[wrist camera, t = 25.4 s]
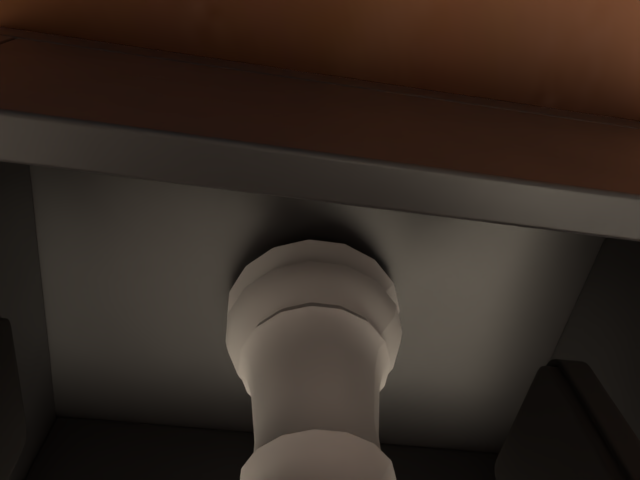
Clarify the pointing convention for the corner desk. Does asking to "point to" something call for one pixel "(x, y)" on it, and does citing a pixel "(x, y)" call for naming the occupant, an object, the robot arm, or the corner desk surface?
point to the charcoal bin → (290, 227)
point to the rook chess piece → (314, 360)
